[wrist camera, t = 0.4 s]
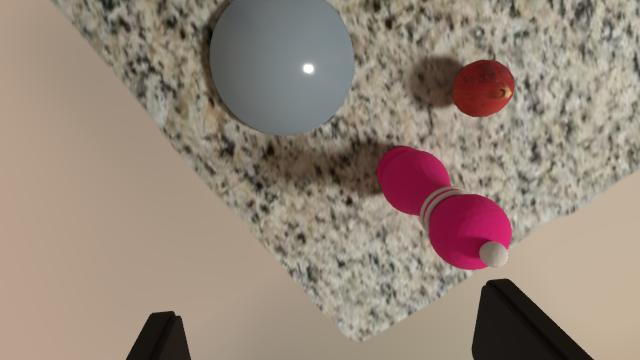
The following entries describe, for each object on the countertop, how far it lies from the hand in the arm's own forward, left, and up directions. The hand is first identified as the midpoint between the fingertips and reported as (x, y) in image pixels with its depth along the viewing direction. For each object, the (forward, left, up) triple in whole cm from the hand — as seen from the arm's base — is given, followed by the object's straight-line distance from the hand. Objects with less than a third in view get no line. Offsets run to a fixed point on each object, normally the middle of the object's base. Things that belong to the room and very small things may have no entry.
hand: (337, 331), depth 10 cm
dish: (-7, -3, -29) cm, 30 cm away
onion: (-8, +18, -30) cm, 36 cm away
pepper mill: (+3, +13, -30) cm, 33 cm away
